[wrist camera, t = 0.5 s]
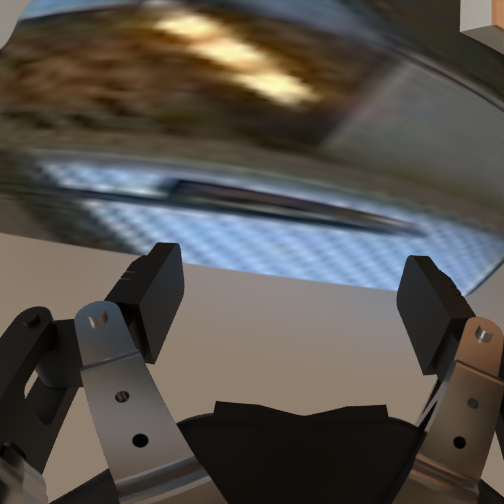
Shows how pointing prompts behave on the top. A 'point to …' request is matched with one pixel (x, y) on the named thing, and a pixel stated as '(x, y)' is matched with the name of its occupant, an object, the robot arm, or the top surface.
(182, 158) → the top surface
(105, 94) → the top surface
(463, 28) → the parts tub
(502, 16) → the snap lid
